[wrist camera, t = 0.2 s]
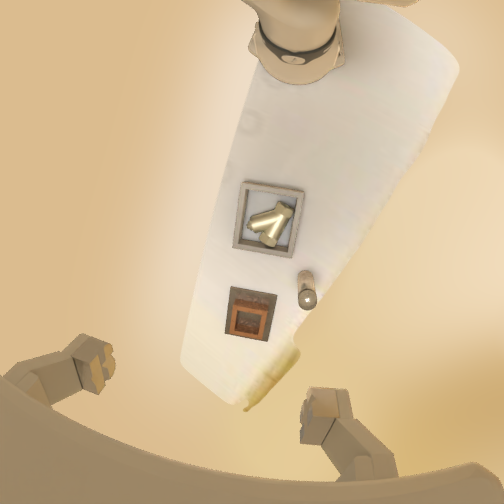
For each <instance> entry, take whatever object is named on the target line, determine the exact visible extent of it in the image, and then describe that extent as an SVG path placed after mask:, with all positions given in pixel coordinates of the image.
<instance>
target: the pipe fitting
mask: <svg viewBox="0 0 504 504" xmlns="http://www.w3.org/2000/svg"><path fill="white" fill-rule="evenodd" d="M293 212H294V209H293V208H291V207H290V206H288V205H286V204H284V203H282V202H278V203H277V205H276V207H275V210H272V211H269V212H265V213H262V214H259V215H255V216H252V217H250V221H249V222H248V224H247V228H248V229H249V228H250V230H253V231H254V232H255V233H258V232H262V231H263V232H262V233H261V235H260V237H259V239H260V241H261V242H263V243H264V244H266V245H268V246H271V247H275V245H276V243H277V241H278V240H279V237H280V235H281V234H282V232H283V230H284V228H285V226H286V225H287V223H288V221H289V219H290V218H291V216H292V214H293Z"/></svg>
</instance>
